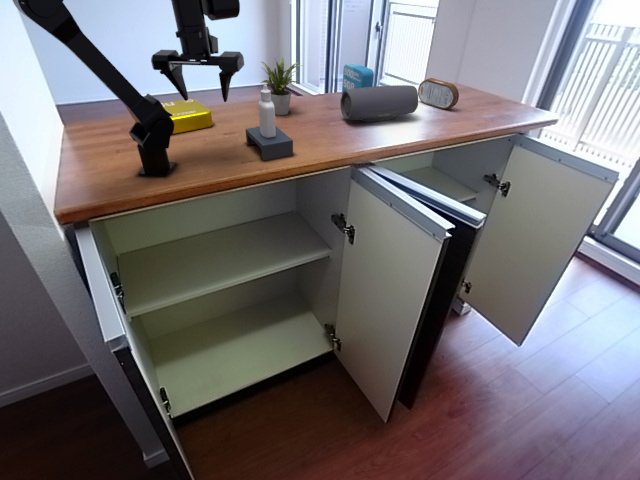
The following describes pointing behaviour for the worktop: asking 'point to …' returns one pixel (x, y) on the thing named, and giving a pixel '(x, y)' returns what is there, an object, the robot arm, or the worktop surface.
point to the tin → (438, 93)
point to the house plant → (280, 87)
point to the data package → (357, 77)
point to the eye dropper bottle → (266, 114)
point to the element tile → (188, 115)
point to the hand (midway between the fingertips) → (206, 100)
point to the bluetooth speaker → (378, 102)
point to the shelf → (270, 143)
